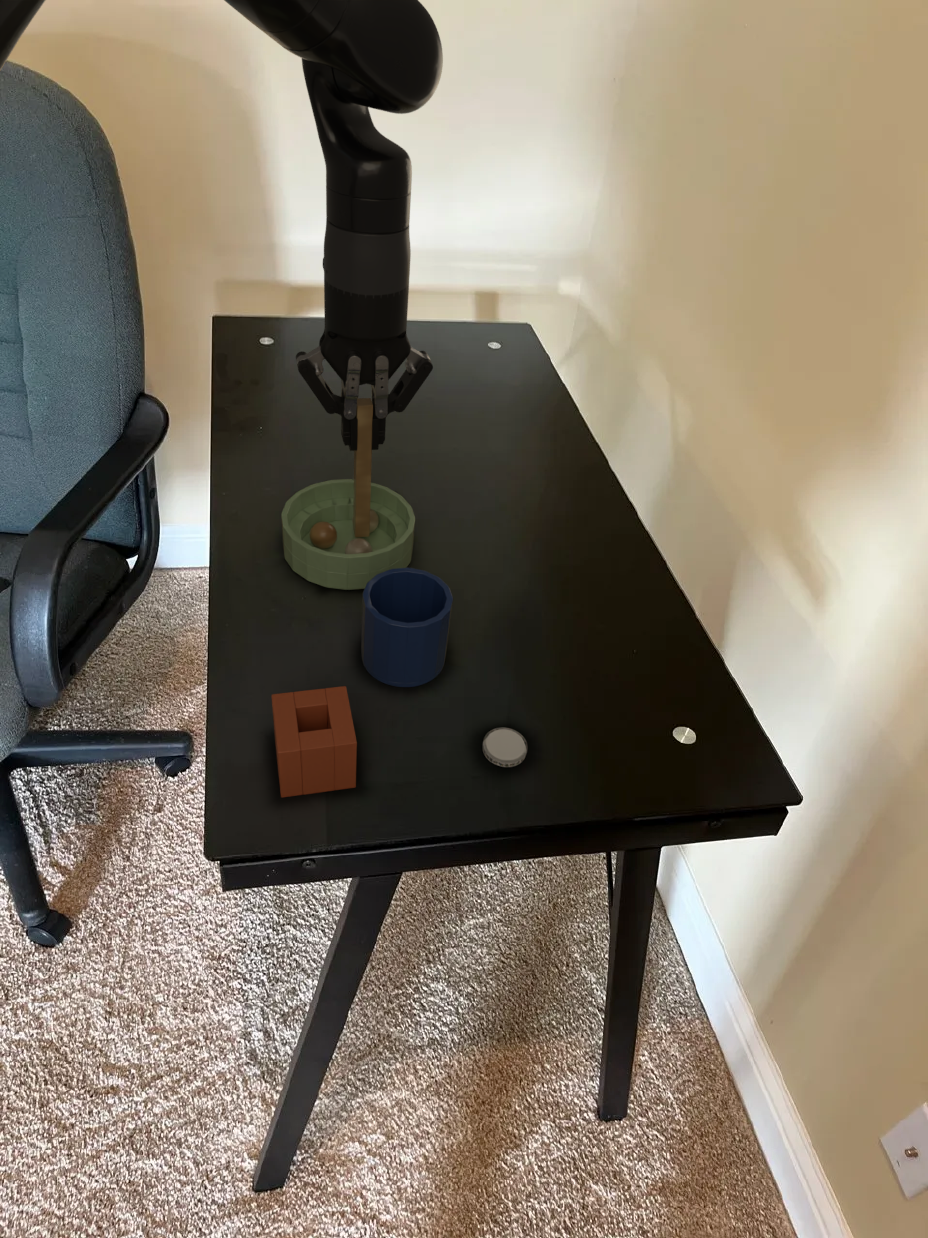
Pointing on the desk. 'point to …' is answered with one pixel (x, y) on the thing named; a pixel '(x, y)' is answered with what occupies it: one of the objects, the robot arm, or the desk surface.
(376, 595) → the crock
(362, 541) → the bead
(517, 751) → the grey bottle cap
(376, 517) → the bead
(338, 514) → the bowl
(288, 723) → the holder
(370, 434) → the stick
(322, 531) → the bead
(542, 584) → the desk surface
